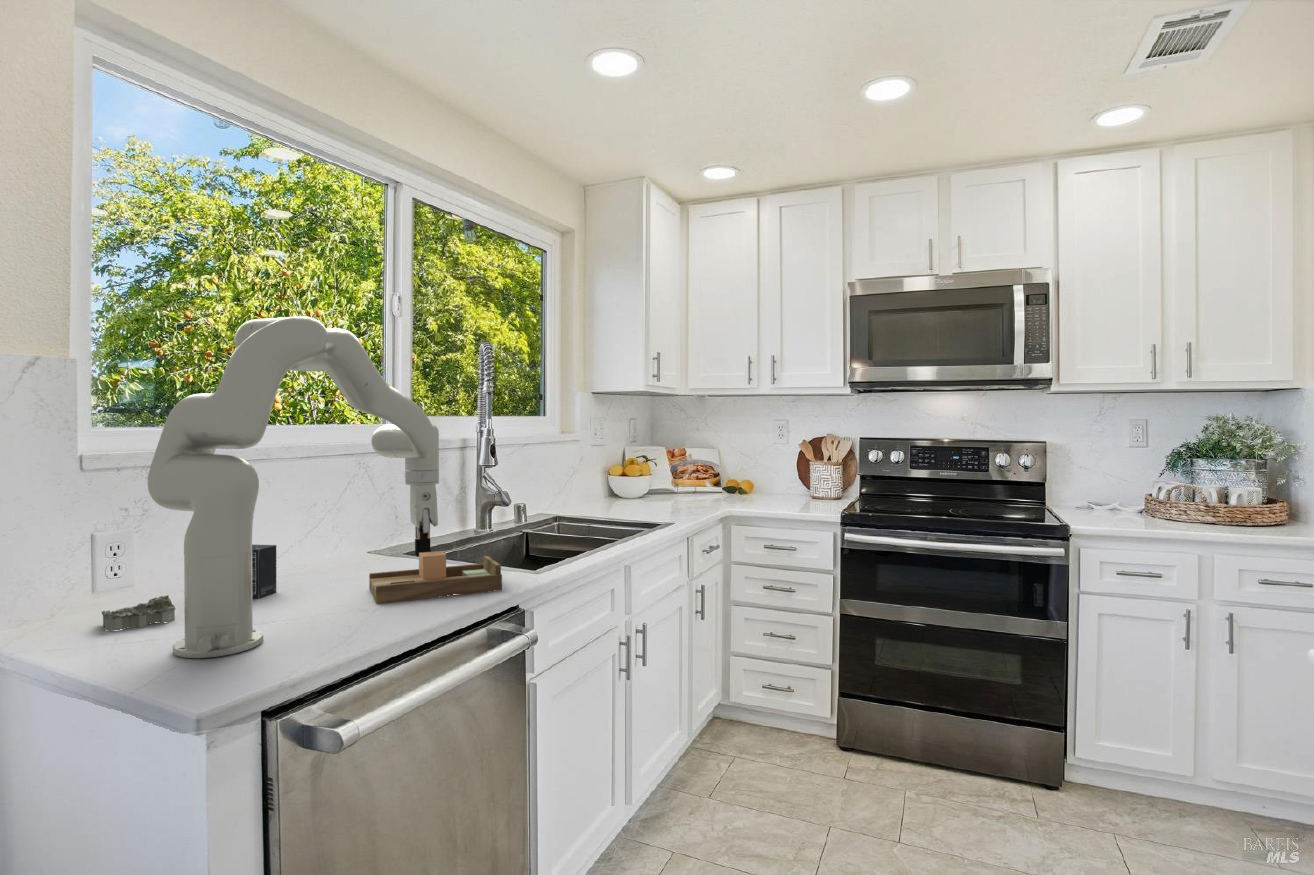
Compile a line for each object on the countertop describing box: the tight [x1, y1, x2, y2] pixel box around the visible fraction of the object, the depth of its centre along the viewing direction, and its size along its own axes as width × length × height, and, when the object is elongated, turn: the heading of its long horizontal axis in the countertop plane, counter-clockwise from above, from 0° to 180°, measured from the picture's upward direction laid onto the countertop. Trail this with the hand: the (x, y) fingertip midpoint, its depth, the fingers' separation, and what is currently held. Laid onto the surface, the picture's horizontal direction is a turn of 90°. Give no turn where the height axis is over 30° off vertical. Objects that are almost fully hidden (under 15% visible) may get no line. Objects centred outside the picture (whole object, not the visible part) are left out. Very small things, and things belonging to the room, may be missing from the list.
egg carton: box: [101, 594, 177, 631], centre depth 129 cm, size 11×8×4 cm
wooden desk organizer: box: [368, 555, 503, 605], centre depth 156 cm, size 14×26×6 cm, turn 118°
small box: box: [252, 544, 277, 599], centre depth 150 cm, size 11×6×10 cm, turn 84°
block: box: [418, 550, 447, 579], centre depth 159 cm, size 5×5×5 cm
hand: (422, 555), depth 165 cm, fingers closed
